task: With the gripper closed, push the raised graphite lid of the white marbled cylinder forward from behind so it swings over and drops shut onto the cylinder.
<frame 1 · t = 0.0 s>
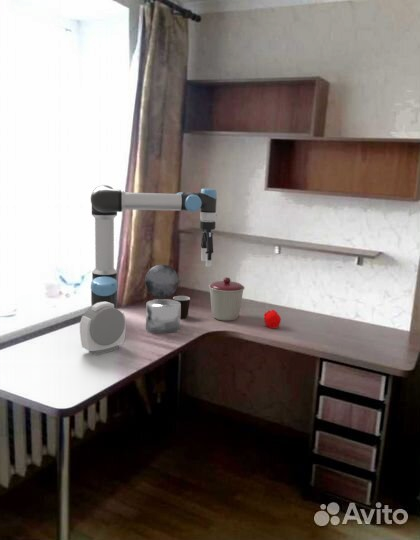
hand: (206, 263, 249), 28 cm above the table, tool pointing down, fingers open, 13 cm apart
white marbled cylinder: (163, 328, 237), on the table
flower: (272, 327, 245), on the table
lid: (161, 281, 243), point 20 cm above the table, hinge at 100.1°
alarm clock: (103, 350, 207), on the table
canister: (225, 318, 257), on the table
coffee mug: (181, 316, 256), on the table
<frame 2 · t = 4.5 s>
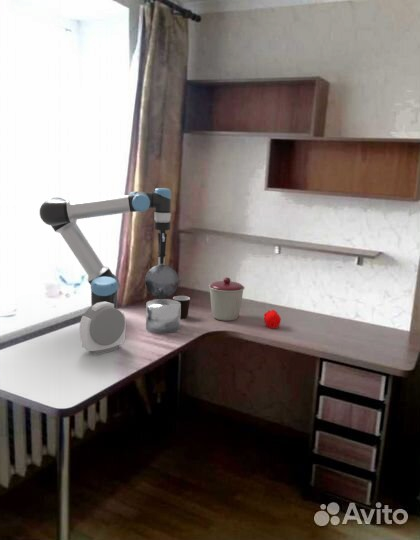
hand: (161, 269, 244), 25 cm above the table, tool pointing down, fingers closed
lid: (161, 281, 243), point 20 cm above the table, hinge at 99.0°, touching gripper
everything else where it was.
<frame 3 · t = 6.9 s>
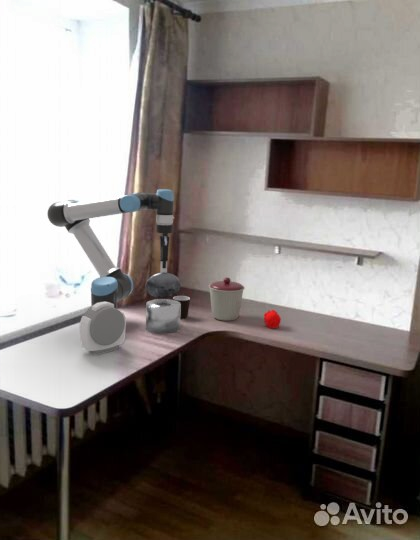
hand: (163, 274, 234), 25 cm above the table, tool pointing down, fingers closed
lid: (162, 284, 238), point 20 cm above the table, hinge at 56.9°
everything else where it was.
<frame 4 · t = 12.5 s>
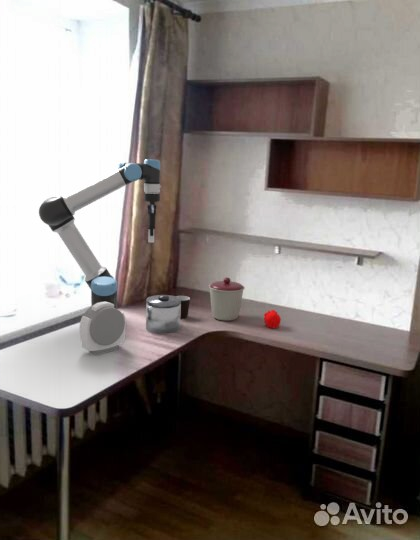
hand: (151, 242, 242), 38 cm above the table, tool pointing down, fingers closed
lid: (163, 299, 234), point 14 cm above the table, hinge at -0.2°
everything else where it was.
at the end: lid at +0° (first picture: +100°); the gripper is holding nothing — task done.
